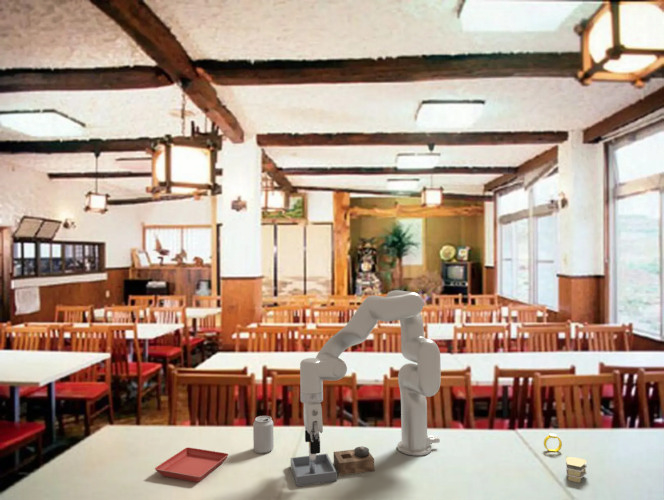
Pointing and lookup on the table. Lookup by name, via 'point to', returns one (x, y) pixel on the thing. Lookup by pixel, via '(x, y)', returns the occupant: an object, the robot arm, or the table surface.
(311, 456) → the lock pin
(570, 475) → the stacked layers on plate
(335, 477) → the tray
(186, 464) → the plant saucer
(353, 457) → the block
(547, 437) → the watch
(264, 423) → the can
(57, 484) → the table surface
